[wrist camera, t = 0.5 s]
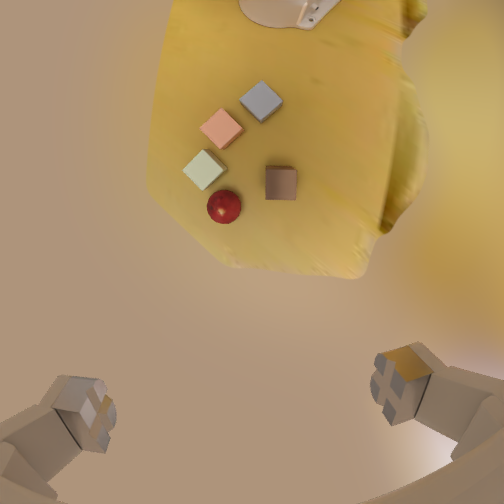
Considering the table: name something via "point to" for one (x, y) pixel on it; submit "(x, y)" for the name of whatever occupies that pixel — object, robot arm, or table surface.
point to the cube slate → (261, 101)
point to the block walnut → (281, 183)
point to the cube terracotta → (221, 129)
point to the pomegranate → (224, 206)
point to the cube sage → (204, 169)
